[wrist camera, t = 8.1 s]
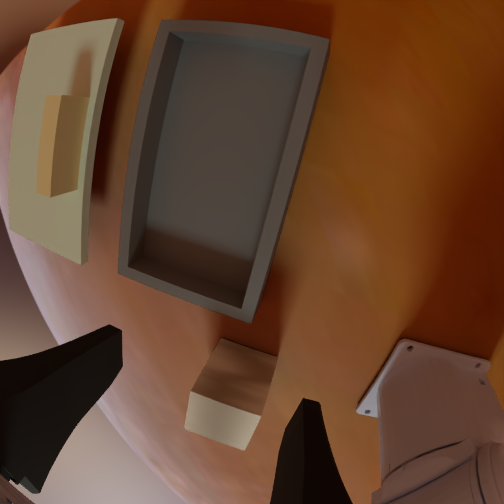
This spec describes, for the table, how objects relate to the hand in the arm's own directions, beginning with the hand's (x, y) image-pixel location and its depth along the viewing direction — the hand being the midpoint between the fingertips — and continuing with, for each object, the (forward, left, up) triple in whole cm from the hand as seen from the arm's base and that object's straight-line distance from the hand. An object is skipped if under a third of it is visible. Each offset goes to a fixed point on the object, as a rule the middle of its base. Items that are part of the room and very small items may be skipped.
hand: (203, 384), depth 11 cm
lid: (+17, -6, -8) cm, 19 cm away
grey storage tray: (+4, -6, -10) cm, 13 cm away
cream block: (-1, +8, -10) cm, 13 cm away
